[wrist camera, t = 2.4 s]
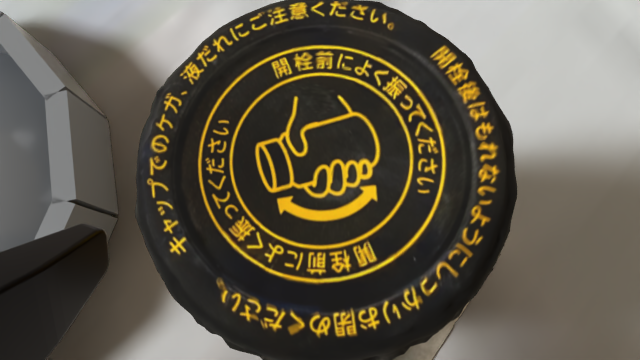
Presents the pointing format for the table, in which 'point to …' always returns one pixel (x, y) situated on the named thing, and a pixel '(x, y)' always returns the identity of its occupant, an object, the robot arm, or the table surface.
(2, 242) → the round grey tray
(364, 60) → the condiment
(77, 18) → the table surface
